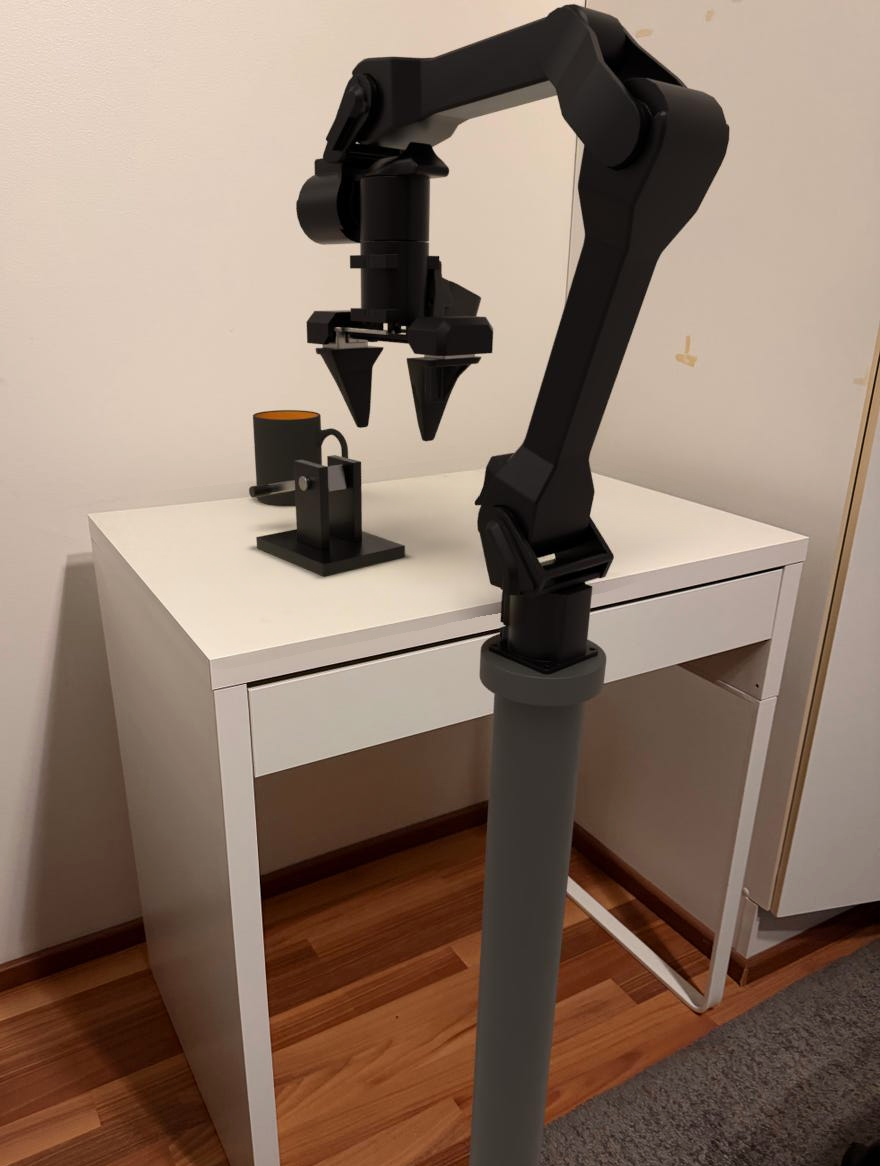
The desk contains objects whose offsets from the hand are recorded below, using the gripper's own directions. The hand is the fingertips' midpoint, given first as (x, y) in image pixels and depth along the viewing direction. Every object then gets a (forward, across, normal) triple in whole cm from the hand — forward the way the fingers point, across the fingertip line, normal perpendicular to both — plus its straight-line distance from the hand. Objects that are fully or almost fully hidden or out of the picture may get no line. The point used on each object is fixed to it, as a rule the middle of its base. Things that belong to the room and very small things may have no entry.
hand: (394, 433), depth 78 cm
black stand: (+13, +9, +1) cm, 16 cm away
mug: (+13, +30, -10) cm, 34 cm away
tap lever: (+8, +14, +1) cm, 16 cm away
